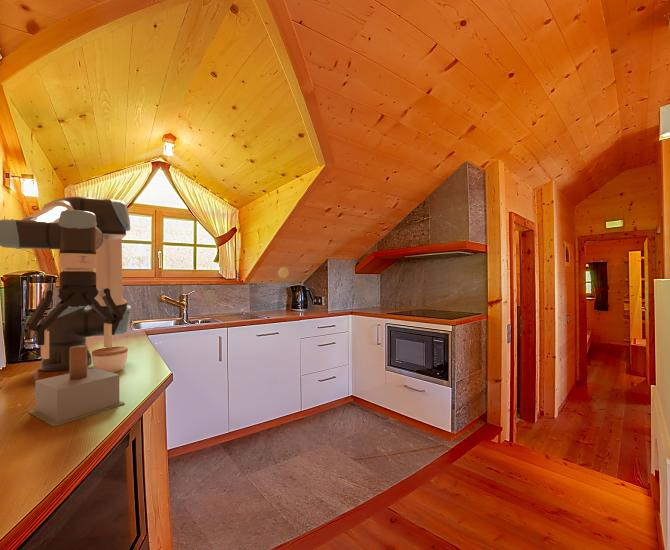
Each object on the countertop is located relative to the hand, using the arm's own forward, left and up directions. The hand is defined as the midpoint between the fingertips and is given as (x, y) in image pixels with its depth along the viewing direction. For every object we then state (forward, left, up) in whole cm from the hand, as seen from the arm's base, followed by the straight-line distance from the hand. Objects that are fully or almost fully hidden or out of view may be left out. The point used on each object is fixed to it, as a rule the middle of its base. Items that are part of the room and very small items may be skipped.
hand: (78, 352), depth 84 cm
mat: (0, 0, -15) cm, 15 cm away
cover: (0, 0, -14) cm, 14 cm away
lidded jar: (-21, -30, -15) cm, 39 cm away
